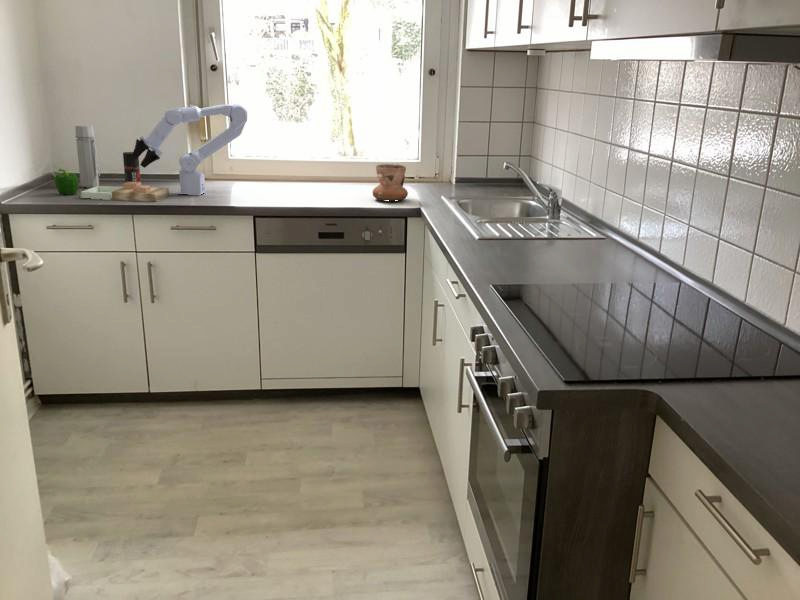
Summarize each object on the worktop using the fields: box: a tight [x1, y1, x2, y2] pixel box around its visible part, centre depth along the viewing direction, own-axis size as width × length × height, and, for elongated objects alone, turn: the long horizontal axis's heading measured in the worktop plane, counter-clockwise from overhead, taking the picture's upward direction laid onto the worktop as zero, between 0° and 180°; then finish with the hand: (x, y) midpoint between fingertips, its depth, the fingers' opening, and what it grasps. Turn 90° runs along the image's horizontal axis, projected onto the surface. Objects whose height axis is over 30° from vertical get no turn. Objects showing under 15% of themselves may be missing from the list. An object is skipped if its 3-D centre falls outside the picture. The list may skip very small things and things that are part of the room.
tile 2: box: [133, 184, 151, 193], centre depth 274 cm, size 5×5×2 cm
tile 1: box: [123, 181, 142, 189], centre depth 281 cm, size 5×5×2 cm
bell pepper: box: [54, 168, 80, 196], centre depth 278 cm, size 8×8×10 cm
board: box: [111, 186, 170, 203], centre depth 278 cm, size 17×14×3 cm
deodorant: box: [122, 151, 142, 183], centre depth 293 cm, size 6×6×15 cm
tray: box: [79, 185, 124, 201], centre depth 279 cm, size 12×15×2 cm
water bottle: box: [74, 124, 101, 189], centre depth 293 cm, size 9×8×25 cm
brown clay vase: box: [372, 163, 409, 201], centre depth 291 cm, size 18×14×14 cm
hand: (137, 162), depth 280 cm, fingers open, 7 cm apart
